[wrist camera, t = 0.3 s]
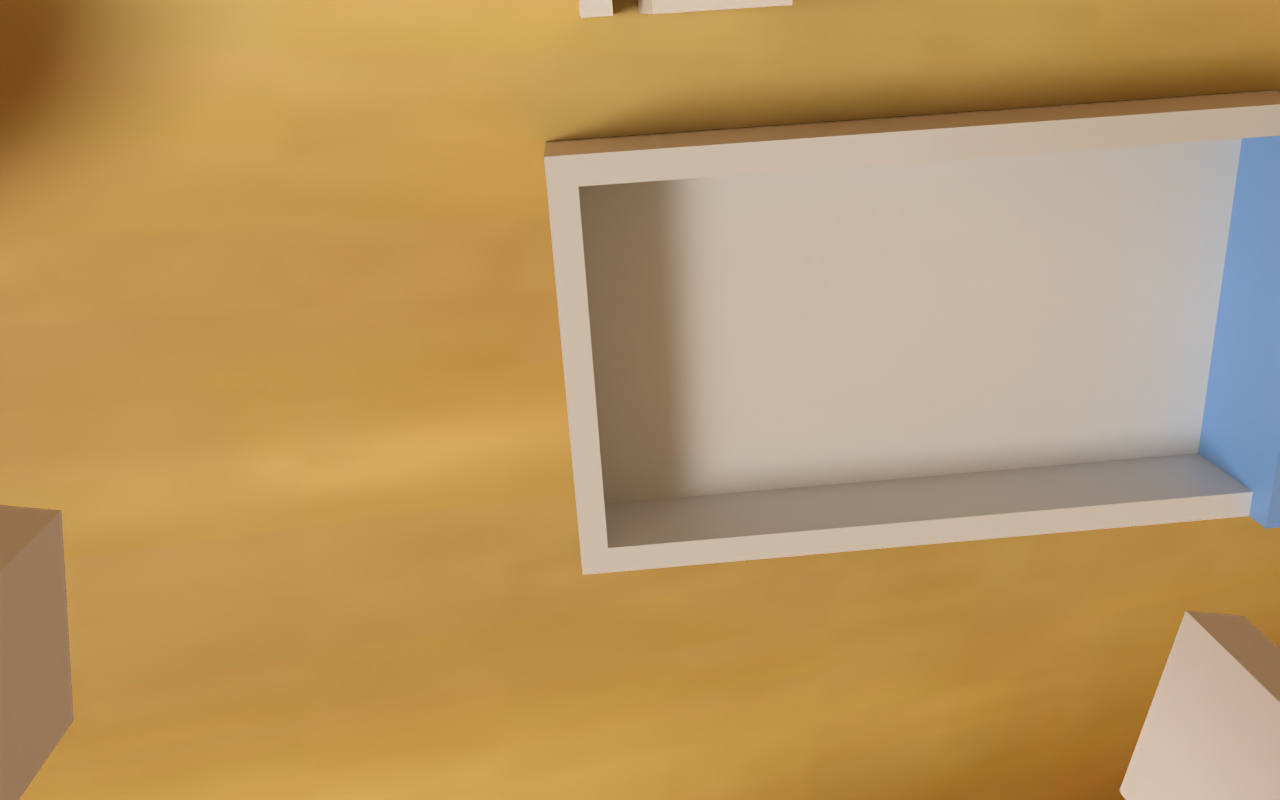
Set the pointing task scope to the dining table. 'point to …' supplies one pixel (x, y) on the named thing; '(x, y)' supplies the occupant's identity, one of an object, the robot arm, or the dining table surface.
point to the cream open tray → (919, 328)
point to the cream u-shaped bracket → (673, 6)
